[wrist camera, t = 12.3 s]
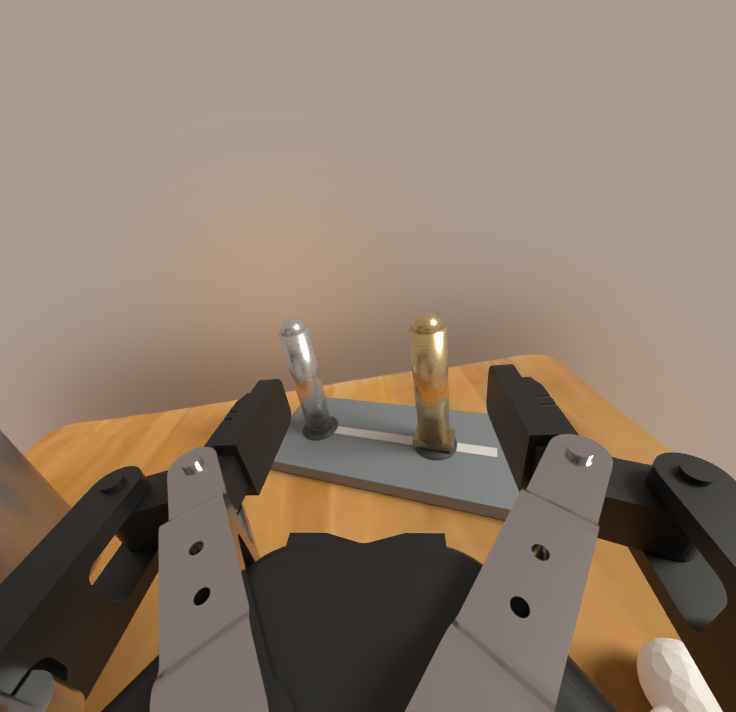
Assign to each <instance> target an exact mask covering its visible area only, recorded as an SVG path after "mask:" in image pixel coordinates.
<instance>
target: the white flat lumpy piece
mask: <svg viewBox="0 0 736 712" xmlns="http://www.w3.org/2000/svg"><path fill="white" fill-rule="evenodd" d="M637 672H638V678H639V681H640V685H641V687H642V689H643V691H644V693H645V696H646V697H647V699H648V701H649V702H650V704H651V706H652V707H653V709H652V710H651V711H650V712H723V711H722V709H721V708H720V706H719V704H718V702H717V701H716V699H715V697H714V696H713V694H712V692H711V690H710V689H709V687H708V685H707V683H706V682H705V680H704V678H703V676H702V675H701V673H700V671H699V670H698V668H697V666H696V664H695V663H694V661H693V659H692V657H691V656H690V654H689V652H688V650H687V649H686V647H685V645H684V644H683V642H681V641H679V640H675V639H670V638H656V639H653V640H650V641H648V642H646V643H645V644H644V645H643V646H642V648H641V649H640V651H639V654H638V656H637Z"/></svg>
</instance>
